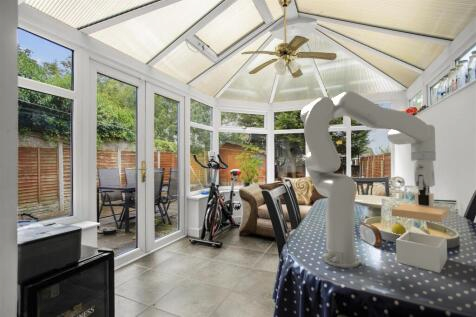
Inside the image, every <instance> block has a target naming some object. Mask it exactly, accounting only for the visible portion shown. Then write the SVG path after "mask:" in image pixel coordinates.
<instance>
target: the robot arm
mask: <svg viewBox="0 0 476 317" xmlns="http://www.w3.org/2000/svg"><path fill="white" fill-rule="evenodd" d="M341 117H348V118H349V119H352V120H353V121H356V122H357V123H359V124H360V125H363V126H365V127H366V128H371V129H380V130H381V129H383V130H384V129H385V130H388V132H387V134H386V136H387V140H388V141H389V142H390V143H392V144H394V145H401V146H402V145H408V144H410V160H411V161H410V162H414V166H413V167H414V168H413V171H414V172H413V173H414V174H413V178H414V179H413V180H414V185H415V186H416V187H417V189H418V190H417V191H418V204H419V205H425V206H429V195H428V193H431V192H430V191H431V190H430V189H431V188H432V187H434V186H435V184H436V178H435V166H434V162H436V161H437V155H436V154H437V153H436V152H437V151H436V128H435V126H434V125H433V124H427V123H426V122H425V121H424V120H423V119H420V118H419V117H417V116H415V115H413V114H411V113H409V112H406V111H401V110H396V109H393V108H389V107H382V106H381V105H379V104H376V103H374V102H373V101H371V100H369V99H367V98H366V97H364V96H362V95H361V94H359V93H357V92H355V91H353V90H346V91H344V92H341V93H339V94H337V95H335V96H334V97H332V98H330V97H328V96H320V97H318V98H316V99H314V100H313V101H311V102H310V103H308V104H307V105H305V106H304V107H303V108H302V109H301V111H300V119H301V121H302V123H303V124H304V127H303V135H304V140H305V142H306V143H305V144H306V145H307V147H308V152H307V153H306V155H305V158H304V166H305V168H306V169H305V170H306V171H307V173H308V175H309V178H310V179H311V182H312V184H313V186H314V188H315V189H316V191H317V193H318V194H319V195H321V196H323V197H325V198H327V202H326V207H325V233H326V234H325V236H326V237H325V238H326V240H325V241H326V243H325V245H326V249H325V250H326V252H324V253H323V254H322V255H321V259H322V261H323V263H326V264H328V265H330V266H333V267H337V268H343V269H344V268H345V269H353V268H357V267H358V266H359V265H361V260H360V259H359V257H357V256H355V255H356V252H355V250H356V248H355V247H356V246H355V244H356V242H355V241H356V240H355V238H356V237H355V204H356V203H355V202H356V197H357V185H356V182H355V181H354V179H353V177H351V176H349V175H347V174H345V173H344V174H343V173H335V172H336V171H338V170H339V169H340V167H341V165H342V164H341V163H342V162H341V157H340V155H339V153H338V151H337V148H336V146H335V144H334V142H333V140H332V137H331V134H330V132H329V126H330V125H329V124H330V121H333V120H337V119H340V118H341Z"/></svg>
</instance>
